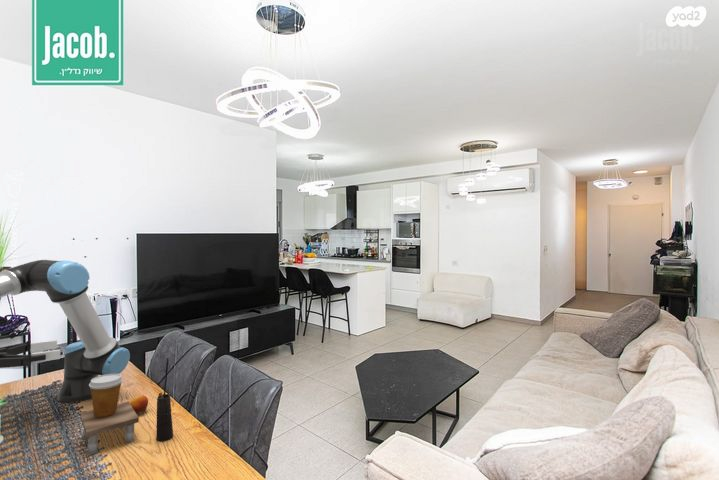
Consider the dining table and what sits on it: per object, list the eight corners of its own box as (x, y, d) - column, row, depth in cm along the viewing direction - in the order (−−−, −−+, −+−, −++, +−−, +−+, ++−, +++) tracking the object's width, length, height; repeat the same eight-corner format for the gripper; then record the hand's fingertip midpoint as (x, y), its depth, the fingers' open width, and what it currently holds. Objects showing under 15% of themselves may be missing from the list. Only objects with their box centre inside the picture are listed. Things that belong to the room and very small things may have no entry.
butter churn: (145, 434, 122) (148, 354, 122) (175, 427, 128) (178, 350, 128) (148, 447, 115) (151, 362, 115) (180, 438, 120) (183, 357, 121)
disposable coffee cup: (128, 408, 124) (129, 374, 124) (104, 421, 115) (105, 384, 115) (105, 405, 126) (107, 372, 126) (80, 418, 116) (81, 382, 117)
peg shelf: (79, 436, 120) (80, 413, 120) (127, 422, 129) (128, 401, 130) (85, 457, 108) (86, 432, 108) (137, 441, 118) (138, 417, 118)
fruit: (140, 416, 131) (132, 397, 132) (125, 425, 133) (116, 405, 134) (157, 407, 139) (148, 388, 140) (142, 415, 141) (134, 396, 142)
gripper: (-36, 364, 107) (55, 351, 122) (-48, 390, 89) (61, 371, 104) (-35, 339, 107) (56, 329, 122) (-46, 361, 90) (62, 346, 104)
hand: (58, 348), depth 113 cm, fingers open, 13 cm apart
